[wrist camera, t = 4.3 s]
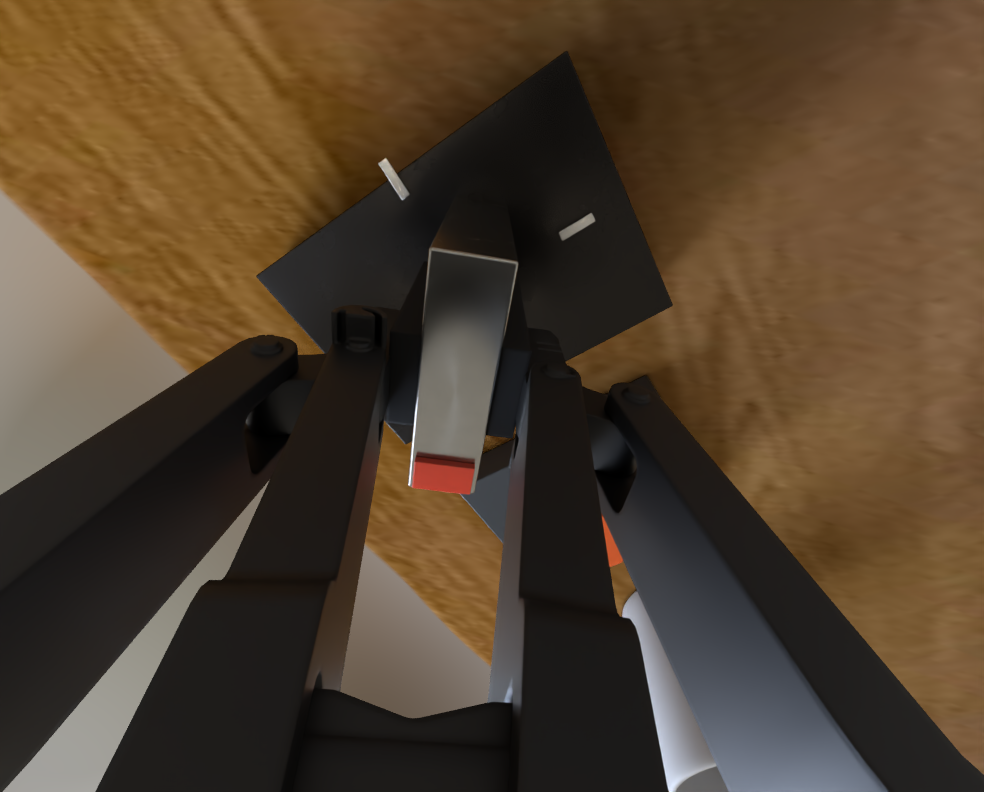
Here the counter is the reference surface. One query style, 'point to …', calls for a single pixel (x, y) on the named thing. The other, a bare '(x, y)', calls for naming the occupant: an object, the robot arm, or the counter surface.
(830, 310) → the counter surface
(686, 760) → the mug
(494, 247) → the grey metallic block
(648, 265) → the panel
